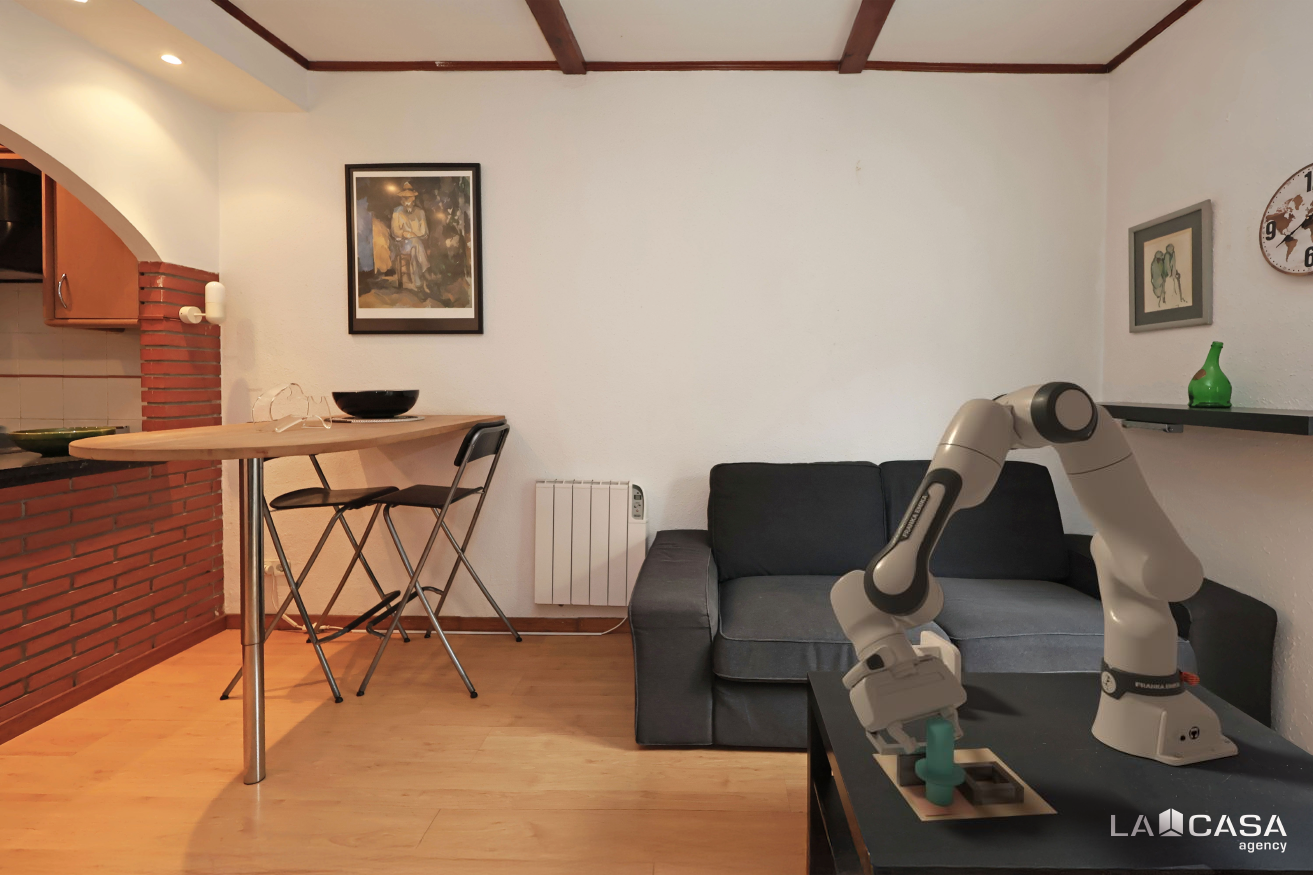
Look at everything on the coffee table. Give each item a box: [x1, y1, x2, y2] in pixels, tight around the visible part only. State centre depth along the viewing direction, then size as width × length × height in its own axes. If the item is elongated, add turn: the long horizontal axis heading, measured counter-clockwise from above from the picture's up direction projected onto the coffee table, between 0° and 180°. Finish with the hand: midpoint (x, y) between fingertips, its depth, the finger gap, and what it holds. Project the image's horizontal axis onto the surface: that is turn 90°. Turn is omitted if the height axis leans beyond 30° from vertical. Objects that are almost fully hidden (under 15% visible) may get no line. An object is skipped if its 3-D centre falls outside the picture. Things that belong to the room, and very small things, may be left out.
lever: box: [865, 728, 926, 756], centre depth 121 cm, size 10×7×2 cm
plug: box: [915, 717, 965, 806], centre depth 113 cm, size 7×7×12 cm
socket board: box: [872, 748, 1058, 822], centre depth 119 cm, size 21×20×6 cm
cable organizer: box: [911, 630, 962, 685], centre depth 155 cm, size 15×11×12 cm
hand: (936, 744), depth 113 cm, fingers open, 8 cm apart
